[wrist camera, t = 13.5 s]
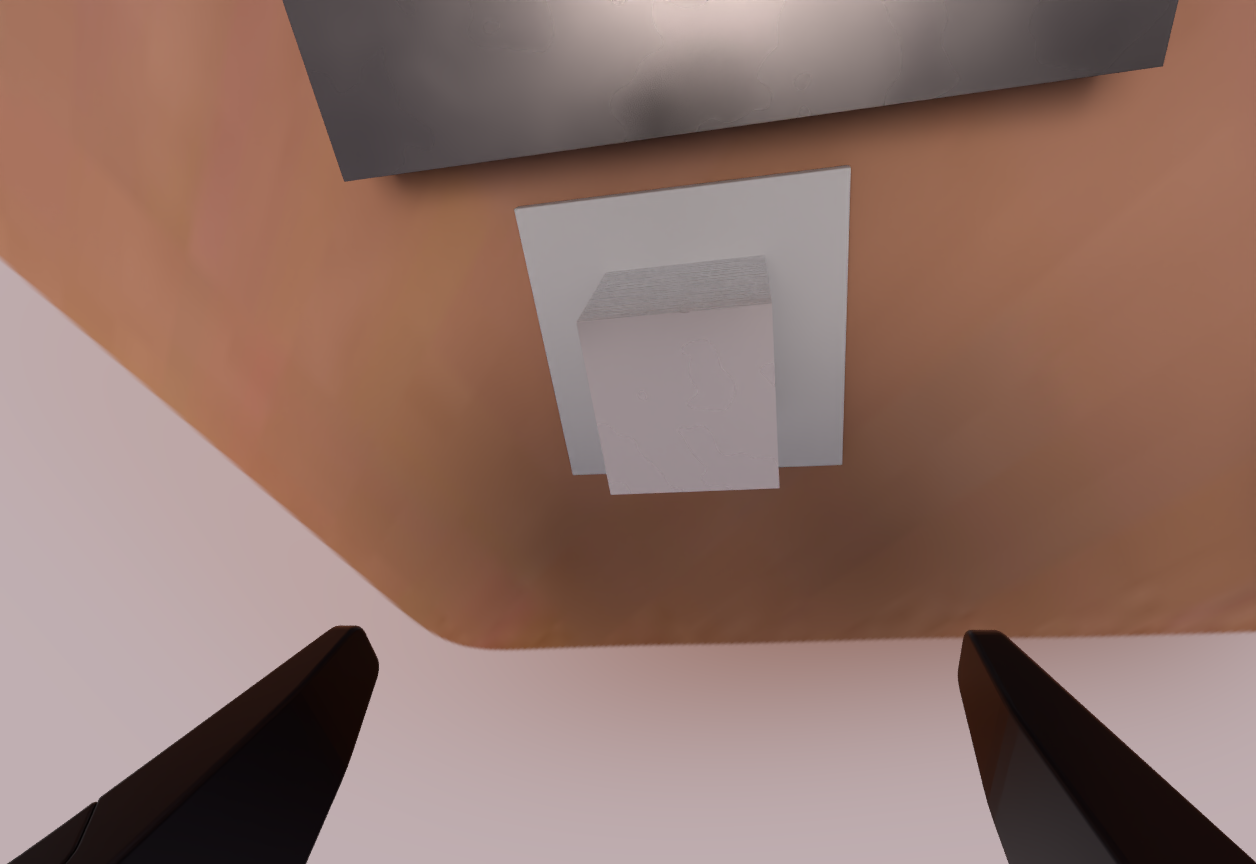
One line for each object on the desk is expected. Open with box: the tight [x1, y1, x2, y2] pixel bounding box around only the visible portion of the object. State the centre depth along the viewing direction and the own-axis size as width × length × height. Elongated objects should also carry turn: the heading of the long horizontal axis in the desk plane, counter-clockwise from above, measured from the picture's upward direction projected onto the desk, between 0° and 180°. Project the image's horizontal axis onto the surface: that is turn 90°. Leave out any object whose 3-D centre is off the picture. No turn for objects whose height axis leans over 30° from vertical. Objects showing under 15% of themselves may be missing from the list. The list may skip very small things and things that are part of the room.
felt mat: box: [514, 165, 851, 475], centre depth 19 cm, size 9×9×1 cm
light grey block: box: [576, 255, 779, 495], centre depth 17 cm, size 4×5×4 cm
